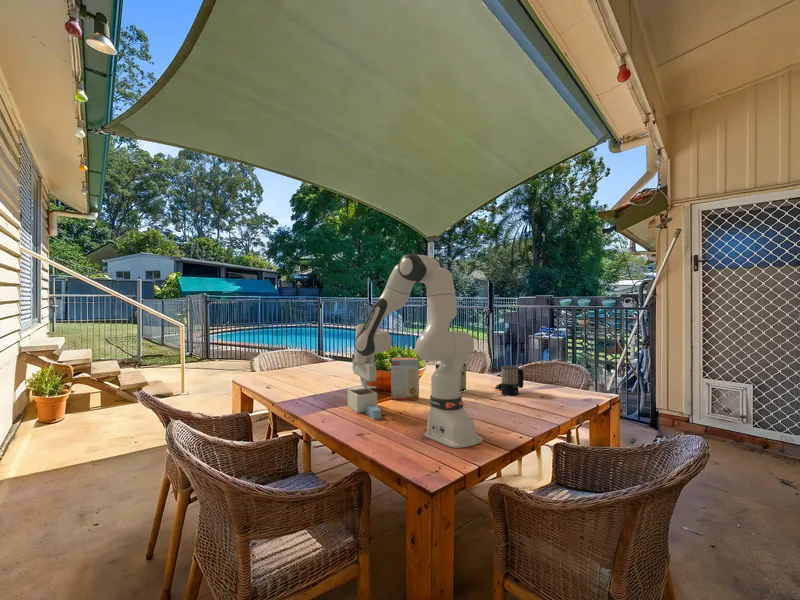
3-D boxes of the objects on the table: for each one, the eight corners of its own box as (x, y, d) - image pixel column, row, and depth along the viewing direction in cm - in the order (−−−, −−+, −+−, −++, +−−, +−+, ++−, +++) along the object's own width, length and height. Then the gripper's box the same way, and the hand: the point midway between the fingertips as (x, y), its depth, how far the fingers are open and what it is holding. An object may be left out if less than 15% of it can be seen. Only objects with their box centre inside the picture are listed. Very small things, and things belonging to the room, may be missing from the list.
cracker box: (419, 397, 197) (419, 357, 197) (418, 400, 191) (418, 359, 191) (392, 396, 198) (392, 357, 198) (391, 399, 192) (390, 358, 192)
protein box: (435, 393, 206) (435, 364, 206) (450, 387, 218) (450, 360, 218) (451, 396, 199) (451, 366, 199) (466, 390, 211) (466, 362, 211)
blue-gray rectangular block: (381, 418, 163) (381, 409, 163) (373, 420, 162) (373, 410, 162) (372, 412, 172) (372, 403, 172) (365, 413, 171) (365, 404, 171)
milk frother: (513, 397, 197) (513, 369, 196) (486, 392, 208) (486, 365, 207) (526, 392, 207) (526, 365, 207) (500, 387, 218) (500, 361, 218)
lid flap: (376, 387, 175) (376, 386, 175) (357, 390, 170) (357, 388, 171) (366, 386, 185) (366, 385, 185) (348, 389, 181) (347, 387, 181)
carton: (377, 410, 175) (377, 392, 175) (357, 413, 170) (357, 395, 170) (366, 403, 186) (366, 387, 185) (347, 406, 181) (347, 389, 181)
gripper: (380, 360, 167) (380, 391, 168) (362, 353, 185) (362, 381, 186) (367, 361, 164) (366, 393, 165) (350, 354, 182) (350, 382, 183)
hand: (364, 386), depth 175 cm, fingers closed
